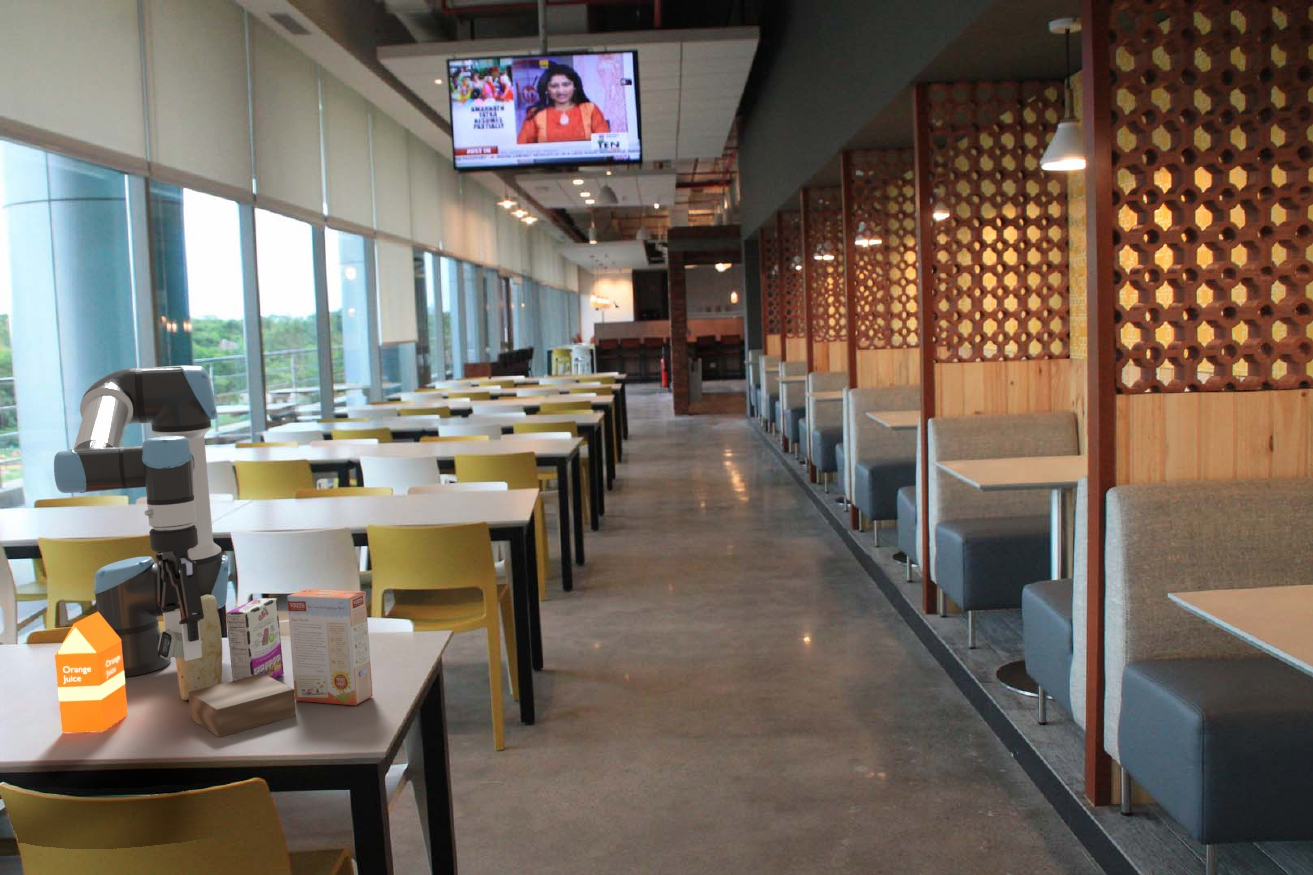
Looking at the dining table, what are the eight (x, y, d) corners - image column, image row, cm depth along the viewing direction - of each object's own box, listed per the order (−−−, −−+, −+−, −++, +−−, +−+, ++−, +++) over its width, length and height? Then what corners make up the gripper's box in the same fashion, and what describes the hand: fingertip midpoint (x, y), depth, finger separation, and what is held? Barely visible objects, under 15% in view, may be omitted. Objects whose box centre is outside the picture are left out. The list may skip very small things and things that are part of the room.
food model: (193, 706, 201) (185, 603, 199) (169, 702, 204) (160, 601, 202) (234, 690, 210) (226, 591, 208) (210, 686, 213) (202, 589, 211)
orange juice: (61, 733, 189) (50, 625, 187) (87, 716, 198) (77, 612, 196) (104, 731, 189) (94, 623, 187) (129, 714, 198) (119, 610, 196)
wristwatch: (151, 655, 184) (148, 627, 184) (186, 645, 189) (184, 618, 189) (176, 664, 178) (173, 635, 178) (211, 654, 183) (209, 626, 183)
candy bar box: (262, 674, 219) (256, 597, 218) (284, 675, 218) (278, 597, 217) (231, 692, 208) (224, 611, 207) (254, 693, 207) (247, 611, 206)
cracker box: (374, 696, 203) (367, 590, 201) (355, 707, 197) (348, 597, 195) (313, 691, 207) (306, 587, 205) (293, 701, 202) (285, 594, 200)
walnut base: (190, 718, 194) (188, 692, 194) (264, 698, 204) (262, 673, 203) (219, 737, 184) (217, 709, 184) (296, 715, 194) (294, 688, 193)
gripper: (130, 522, 187) (141, 645, 190) (170, 537, 171) (182, 671, 174) (174, 516, 192) (185, 635, 195) (217, 530, 176) (228, 660, 179)
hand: (183, 652), depth 184 cm, fingers closed on wristwatch, 9 cm apart
